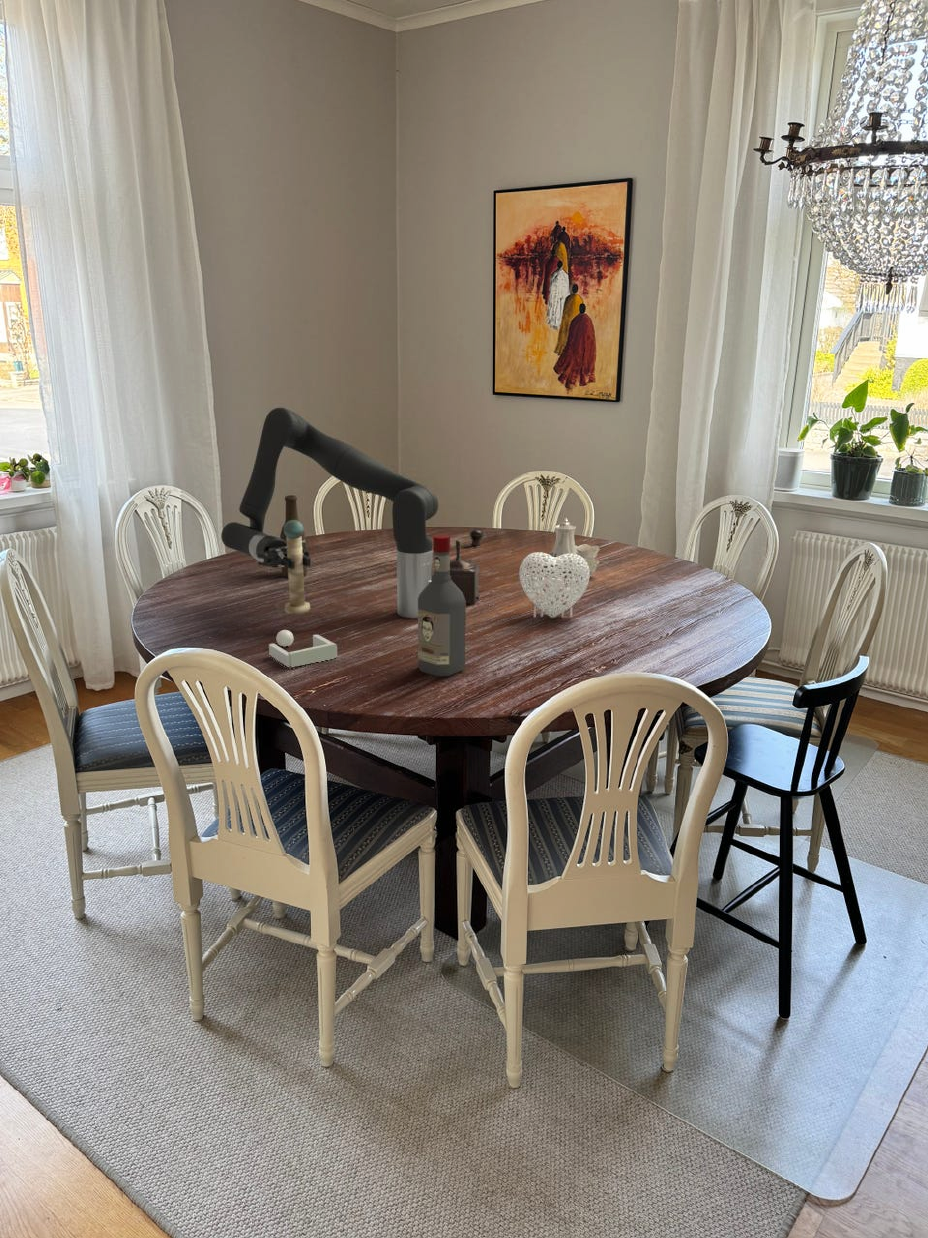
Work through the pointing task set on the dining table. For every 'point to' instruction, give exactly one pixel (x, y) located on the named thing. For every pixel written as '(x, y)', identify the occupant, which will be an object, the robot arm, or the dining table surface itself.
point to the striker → (295, 569)
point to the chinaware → (573, 547)
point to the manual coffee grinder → (466, 570)
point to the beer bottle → (290, 515)
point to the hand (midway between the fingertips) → (300, 563)
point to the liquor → (441, 618)
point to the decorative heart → (554, 581)
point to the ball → (284, 638)
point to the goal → (305, 653)
